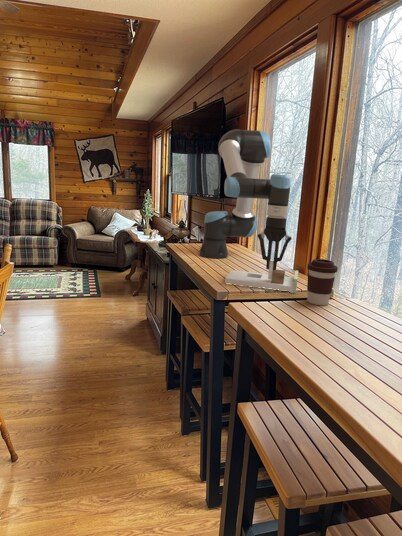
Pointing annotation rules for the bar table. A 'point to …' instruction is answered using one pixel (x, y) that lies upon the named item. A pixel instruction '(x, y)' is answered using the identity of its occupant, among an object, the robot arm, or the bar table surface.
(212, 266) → the bar table surface
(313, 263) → the coffee cup
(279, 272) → the block
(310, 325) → the bar table surface
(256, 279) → the board
